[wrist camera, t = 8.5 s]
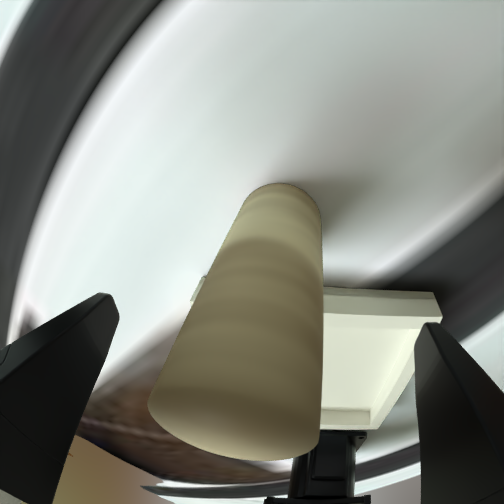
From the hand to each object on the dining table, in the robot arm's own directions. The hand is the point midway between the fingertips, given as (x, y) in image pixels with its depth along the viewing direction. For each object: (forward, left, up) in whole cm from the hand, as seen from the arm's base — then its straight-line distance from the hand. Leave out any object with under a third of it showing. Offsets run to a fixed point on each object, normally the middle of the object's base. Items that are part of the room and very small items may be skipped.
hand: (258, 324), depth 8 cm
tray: (-9, -2, -6) cm, 11 cm away
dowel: (0, 0, -6) cm, 6 cm away
